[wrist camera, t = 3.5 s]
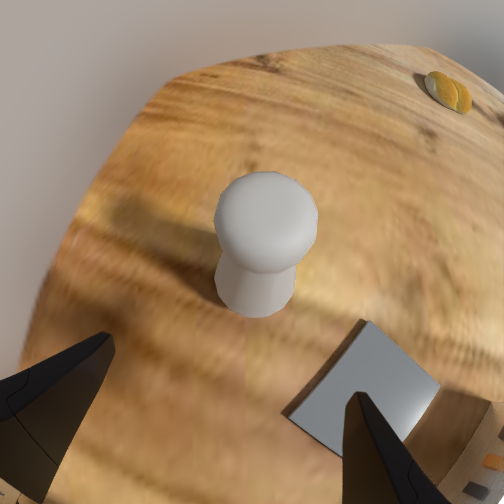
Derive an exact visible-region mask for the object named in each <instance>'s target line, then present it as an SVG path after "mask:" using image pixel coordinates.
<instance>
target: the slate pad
mask: <svg viewBox="0 0 504 504" xmlns="http://www.w3.org/2000/svg"><path fill="white" fill-rule="evenodd" d="M440 387H441V386H440V385H439V384H438V383H437V382H436V381H435V380H434V379H433V378H432V377H431V376H430V375H429V374H428V373H427V372H426V371H425V370H423V369H422V368H421V367H420V366H419V365H418V364H417V363H416V362H415V361H414V360H413V359H412V358H411V357H409V356H408V355H407V354H406V353H405V352H404V351H403V350H402V349H401V348H400V347H399V346H398V345H396V344H395V343H394V342H393V341H392V340H391V339H390V338H389V337H388V336H387V335H386V334H384V333H383V332H382V331H381V330H380V329H379V328H378V327H377V326H376V325H374V324H373V323H372V322H371V321H370V320H369V321H367V322H366V323H365V325H364V326H363V327H362V329H361V330H360V331H359V333H358V334H357V335H356V337H355V338H354V339H353V341H352V342H351V343H350V345H349V346H348V347H347V348H346V350H345V351H344V352H343V353H342V355H341V356H340V357H339V358H338V360H337V361H336V362H335V363H334V365H333V366H332V367H331V368H330V370H329V371H328V372H327V373H326V374H325V375H324V377H323V378H322V379H321V380H320V381H319V382H318V384H317V385H316V386H315V387H314V388H313V389H312V390H311V392H310V393H309V394H308V395H307V396H306V397H305V398H304V399H303V401H302V402H301V403H300V404H299V405H298V406H297V407H296V408H295V409H294V410H293V411H292V412H291V413H290V414H289V415H288V417H289V418H290V419H291V420H292V421H294V422H295V423H296V424H297V425H299V426H300V427H301V428H303V429H304V430H305V431H307V432H308V433H309V434H311V435H312V436H313V437H315V438H316V439H317V440H319V441H320V442H322V443H323V444H324V445H326V446H327V447H329V448H330V449H331V450H333V451H334V452H336V453H337V454H339V455H340V456H341V457H342V441H343V429H344V417H345V407H346V404H347V402H348V401H349V399H350V398H351V397H352V395H353V394H354V392H356V391H363V392H366V393H367V394H368V395H369V396H370V398H371V399H372V401H373V402H374V403H375V405H376V406H377V408H378V409H379V410H380V412H381V413H382V415H383V416H384V417H385V419H386V420H387V422H388V423H389V424H390V426H391V427H392V429H393V430H394V431H395V433H396V434H397V436H398V437H399V438H400V440H401V441H402V442H403V441H404V440H405V438H406V437H407V436H408V434H409V433H410V432H411V430H412V429H413V427H414V426H415V425H416V423H417V422H418V420H419V419H420V418H421V416H422V415H423V413H424V412H425V410H426V409H427V407H428V406H429V404H430V403H431V401H432V400H433V398H434V396H435V395H436V393H437V392H438V390H439V388H440Z"/></svg>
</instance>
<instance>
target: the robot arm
mask: <svg viewBox="0 0 504 504" xmlns="http://www.w3.org/2000/svg"><path fill="white" fill-rule="evenodd" d="M114 354H115V346H114V340H113V336H112V334H109V333H107V332H104V331H102V332H99V333H97V334H95V335H93V336H91V337H89V338H87V339H85V340H83V341H81V342H79V343H77V344H75V345H73V346H71V347H70V348H68V349H66V350H64V351H62V352H60V353H58V354H56V355H54V356H52V357H50V358H48V359H46V360H44V361H42V362H40V363H38V364H36V365H34V366H32V367H31V368H27V369H25V370H23V371H21V372H19V373H17V374H15V375H13V376H10V377H8V378H5V379H3V380H0V504H19V502H18V499H19V497H20V495H21V493H22V494H24V495H25V496H27V497H28V498H30V499H32V500H33V501H35V502H36V503H38V504H42V503H43V501H44V499H45V496H46V494H47V492H48V490H49V488H50V485H51V483H52V481H53V479H54V477H55V475H56V472H57V470H58V468H59V466H60V464H61V462H62V460H63V458H64V455H65V453H66V451H67V449H68V447H69V445H70V443H71V442H72V440H73V438H74V436H75V434H76V432H77V430H78V428H79V426H80V424H81V422H82V420H83V418H84V417H85V415H86V413H87V411H88V409H89V407H90V405H91V404H92V402H93V400H94V398H95V396H96V395H97V393H98V391H99V389H100V387H101V385H102V383H103V380H104V378H105V376H106V373H107V371H108V368H109V366H110V364H111V361H112V359H113V357H114ZM342 461H343V490H342V504H452V503H451V502H450V501H449V500H448V499H447V498H446V497H445V496H444V495H443V494H442V493H441V492H440V491H439V489H438V488H437V487H436V486H435V485H434V484H433V483H432V482H431V480H430V479H429V478H428V477H427V476H426V474H425V473H424V472H423V471H422V469H421V468H420V467H419V465H418V464H417V462H416V461H415V459H413V457H412V455H411V454H410V453H409V451H408V450H407V448H406V447H405V445H404V444H403V443H402V441H401V440H400V438H399V437H398V436H397V434H396V433H395V431H394V430H393V429H392V427H391V426H390V424H389V423H388V422H387V420H386V419H385V417H384V416H383V415H382V413H381V412H380V410H379V409H378V408H377V406H376V405H375V403H374V402H373V401H372V399H371V398H370V396H369V395H368V394H367V393H366V392H363V391H356V392H354V394H353V395H352V397H351V398H350V399H349V401H348V402H347V404H346V407H345V417H344V429H343V441H342Z"/></svg>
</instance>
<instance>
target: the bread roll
mask: <svg viewBox="0 0 504 504" xmlns="http://www.w3.org/2000/svg"><path fill="white" fill-rule="evenodd" d="M424 82H425V85H426V88H427V90H428V92H429V93H430V95H431V96H432V97H433V98H434V99H435V100H437V101H438V102H439V103H441V104H442V105H443V106H445V107H447V108H449V109H452V110H455V111H456V112H458V113H460V114H467V113H468V112H469V111H470V109H471V106H472V100H471V96H470V93H469V92H468V90H467V89H466V88H465V87H464V86H463V85H462V84H460V83H459V82H457V81H456V80H454V79H452V78H449V77H447V76H446V75H444V74H443V73H441V72H438V71H434V72H430V73H429V74H428V75H427V76H426V78H425V80H424Z"/></svg>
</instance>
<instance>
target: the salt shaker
mask: <svg viewBox="0 0 504 504" xmlns="http://www.w3.org/2000/svg"><path fill="white" fill-rule="evenodd" d="M213 222H214V226H215V230H216V234H217V238H218V242H219V245H220V248H221V249H222V250H223V252H222V254H221V257H220V259H219V261H218V265H217V269H216V273H215V277H214V280H215V284H216V288H217V292H218V296H219V297H220V298H221V299H222V301H223V302H224V303H225V304H226V306H227V307H228V308H229V309H230V310H231V311H234V312H236V313H238V314H240V315H243V316H245V317H247V318H254V317H268V316H269V315H271V314H273V313H275V312H277V311H279V310H281V309H283V307H284V306H285V305H286V303H287V302H288V301H289V299H290V298H291V296H292V295H293V293H294V287H295V280H296V264H298V263H299V262H300V261H301V260H302V259H303V257H304V256H305V254H306V253H307V252H308V250H309V249H310V248H311V246H312V245H313V243H314V242H315V239H316V233H317V222H318V211H317V208H316V206H315V203H314V200H313V198H312V195H311V194H310V193H309V192H308V191H307V190H306V189H305V188H304V187H303V186H302V185H301V184H300V183H299V182H298V181H297V180H295V179H293V178H290V177H288V176H286V175H283V174H281V173H278V172H252V173H250V174H247V175H244V176H242V177H239V178H237V179H235V180H234V181H233V182H232V183H231V184H230V185H229V186H228V187H227V188H226V189H225V190H224V191H223V193H222V194H221V195H220V199H219V202H218V205H217V209H216V212H215V216H214V221H213Z"/></svg>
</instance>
